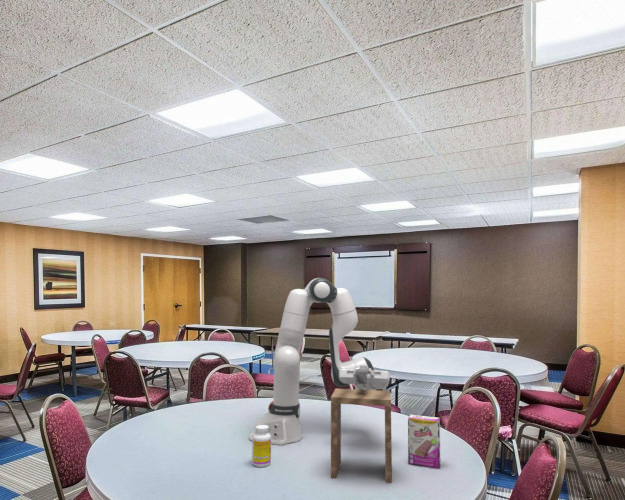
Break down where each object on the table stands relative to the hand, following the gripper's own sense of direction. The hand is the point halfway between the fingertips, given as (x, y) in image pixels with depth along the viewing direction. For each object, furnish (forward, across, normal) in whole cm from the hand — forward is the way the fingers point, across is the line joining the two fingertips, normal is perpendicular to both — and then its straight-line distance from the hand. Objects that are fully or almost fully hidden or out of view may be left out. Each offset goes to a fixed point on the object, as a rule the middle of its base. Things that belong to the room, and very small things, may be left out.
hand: (363, 369), depth 159 cm
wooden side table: (-3, 0, +35) cm, 35 cm away
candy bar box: (-13, +22, +30) cm, 39 cm away
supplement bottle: (-3, -36, +35) cm, 50 cm away
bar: (+5, 0, +5) cm, 7 cm away
